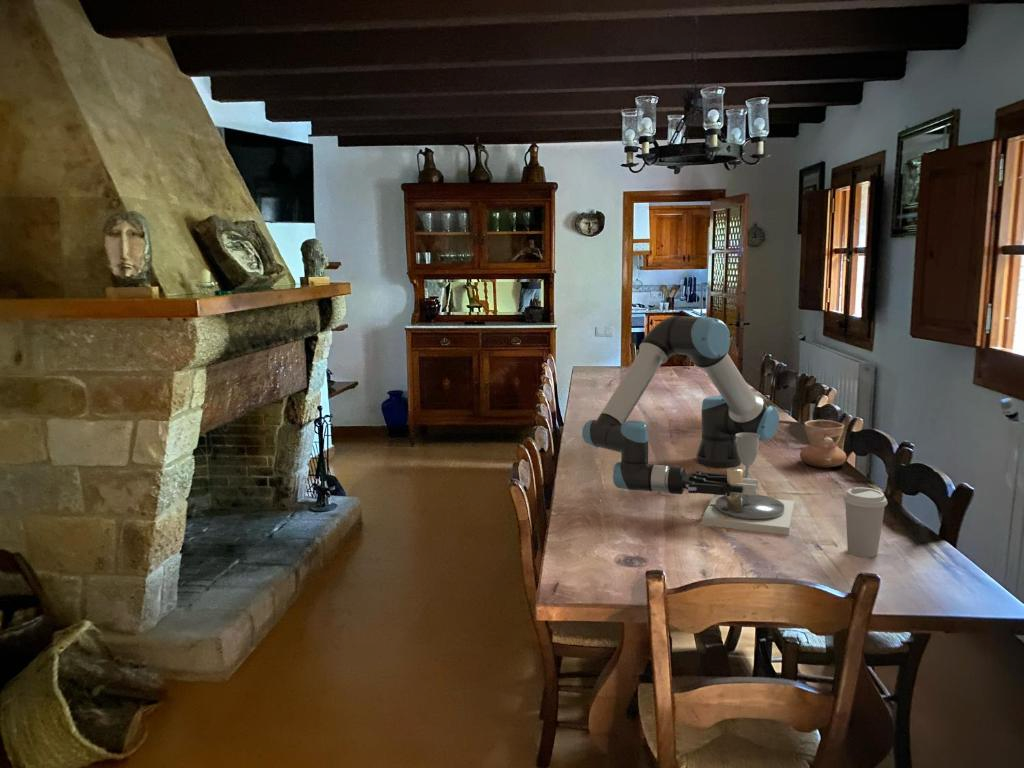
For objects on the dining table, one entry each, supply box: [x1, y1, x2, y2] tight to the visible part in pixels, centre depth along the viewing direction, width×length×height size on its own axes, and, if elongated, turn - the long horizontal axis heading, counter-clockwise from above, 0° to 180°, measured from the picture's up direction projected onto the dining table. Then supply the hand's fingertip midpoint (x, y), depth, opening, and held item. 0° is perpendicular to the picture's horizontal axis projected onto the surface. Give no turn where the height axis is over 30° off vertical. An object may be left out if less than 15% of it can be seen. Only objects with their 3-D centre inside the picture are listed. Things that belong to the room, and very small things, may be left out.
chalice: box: [736, 432, 760, 479], centre depth 225 cm, size 7×7×18 cm
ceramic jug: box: [799, 419, 847, 469], centre depth 252 cm, size 18×14×14 cm
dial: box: [716, 466, 784, 520], centre depth 206 cm, size 18×18×12 cm
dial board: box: [701, 493, 796, 536], centre depth 207 cm, size 22×22×2 cm
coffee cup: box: [842, 486, 888, 559], centre depth 179 cm, size 10×10×15 cm
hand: (756, 487), depth 200 cm, fingers open, 4 cm apart
